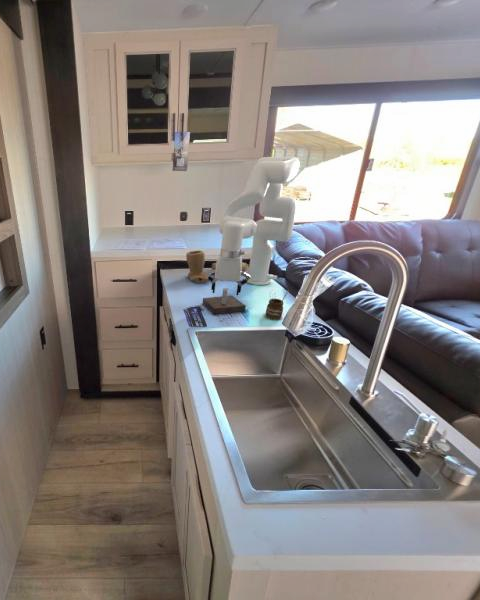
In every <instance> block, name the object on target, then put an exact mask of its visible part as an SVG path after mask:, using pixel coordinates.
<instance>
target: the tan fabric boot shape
mask: <svg viewBox="0 0 480 600" xmlns="http://www.w3.org/2000/svg"><path fill="white" fill-rule="evenodd" d="M185 256H186V262H187V266H188V268H189V272H188V275H187V276H188V278H189V279H190V281H192V282H195V283H197V284H206V283H209V282H210V281H209V279H208V277H207V275H206V272H205V271H204V268H205V267H204V266H205V263H206V254H205V252H204V251H202V250H191V251H188V252H186V255H185Z"/></svg>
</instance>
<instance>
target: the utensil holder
mask: <svg viewBox="0 0 480 600" xmlns="http://www.w3.org/2000/svg"><path fill="white" fill-rule="evenodd" d="M272 292H273V295H276V292H275V290H273V289H272V290H271V291H269V296H271V294H272ZM288 292H289V290H287V291H286V293H285V295H283V298H282V299H279V298H276V297H273V298H272V297H269V300H268V303H267V305H266V309H265V317H266V318H268V319H270V320H274V321H278V320H281V319H282V316H283V312H284V300H285V298H286V297H287V294H288Z"/></svg>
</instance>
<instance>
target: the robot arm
mask: <svg viewBox="0 0 480 600" xmlns="http://www.w3.org/2000/svg"><path fill="white" fill-rule="evenodd" d="M299 168H300V160H299V158H298V157H297V156H263V157H261V158H258V159H257V160H256V162H255V164H254V165H253V167H252V170H251V172H250V174H249V177H248V179H247V182H246V184H245V187H244V190H243V192H242V193H241V194H240V195H238V196H236V197H235V198H234V199H233V200H232V201H230V203H228V204H227V205H226V207H225V209H224V210H223V213H222V216H221V217H220V221H219V224H218V231H219V233H220V234H221V235H222V237H221V246H220V254H218V256H217V259H216V262H215V263H216V268H215V269H213V270H212V269H210V270H208V271H206V272H205V273H206V275H207V277H208V279H209V282H210V283H211V287H210V288H211V291H212V294H214V293H216V292H215V290H216V283H217V282H218V281H220V282H221V281H222V282H234V283H237V286H236V296H239V294H241V291H242V287H243V286H244V285H246V284H249V285H255V286H266V285H269V284H270V282H271V280H278V275H274V274H269V272H270V271H269V270H270V264H271V260H272V259H271V258H272V254H273V245H272V243H271V242H272V241H273V242H280V243H287V242H288V241H290V240H291V238H292V235H293V231H294V226H295V220H296V215H297V209H298V203H297V199H295V198H294V197H290V196H282V191H283V184H287V183H288V182H290V181H291V180H293V178H295V177H296V175H297V174H298V172H299ZM255 205H259V209H258V211H259V215H260V216H262V217H265V218H268V219H265V218H263V219H259V220H256V221H255V220H253V219H251V218H243V217H235V216H234V215H235V214H237V213H238V212H239V211H241V210H244V209H247V208H249V207H253V206H255ZM269 218H273V219H269ZM275 219H281V220H275ZM251 237H252V246H251V253H250V259H249V264H248V269H247V272H245V271H241V270H242V262H243V257H242V256H244V255H245V251H243V250H242V244H243V239H250V238H251ZM270 241H271V242H270ZM214 273H215V274H214ZM213 274H214V277H212V275H213ZM242 276H243V280H241V278H242Z"/></svg>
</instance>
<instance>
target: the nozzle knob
mask: <svg viewBox="0 0 480 600" xmlns="http://www.w3.org/2000/svg"><path fill="white" fill-rule="evenodd" d="M228 291H229V288H228V287H223V288H222V295H221V296H222V302H221V304H225V305H226V299H227V296H228Z"/></svg>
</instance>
